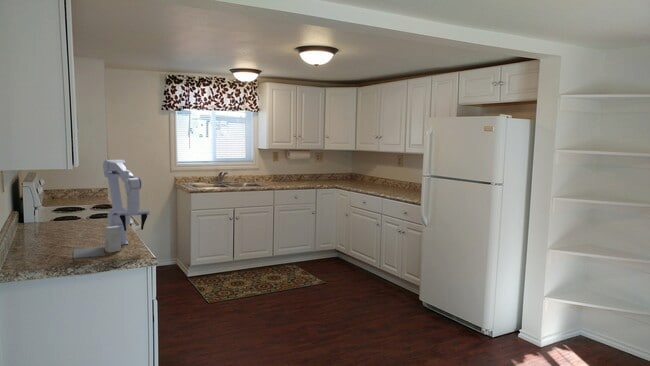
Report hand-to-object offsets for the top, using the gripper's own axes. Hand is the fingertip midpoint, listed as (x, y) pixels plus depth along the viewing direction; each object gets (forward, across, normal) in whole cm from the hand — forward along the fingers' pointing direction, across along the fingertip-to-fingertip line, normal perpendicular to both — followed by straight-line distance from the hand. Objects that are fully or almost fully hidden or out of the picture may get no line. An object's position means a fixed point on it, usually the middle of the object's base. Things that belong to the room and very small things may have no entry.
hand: (133, 230), depth 227 cm
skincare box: (+10, -9, +2) cm, 14 cm away
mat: (+10, -20, +2) cm, 22 cm away
